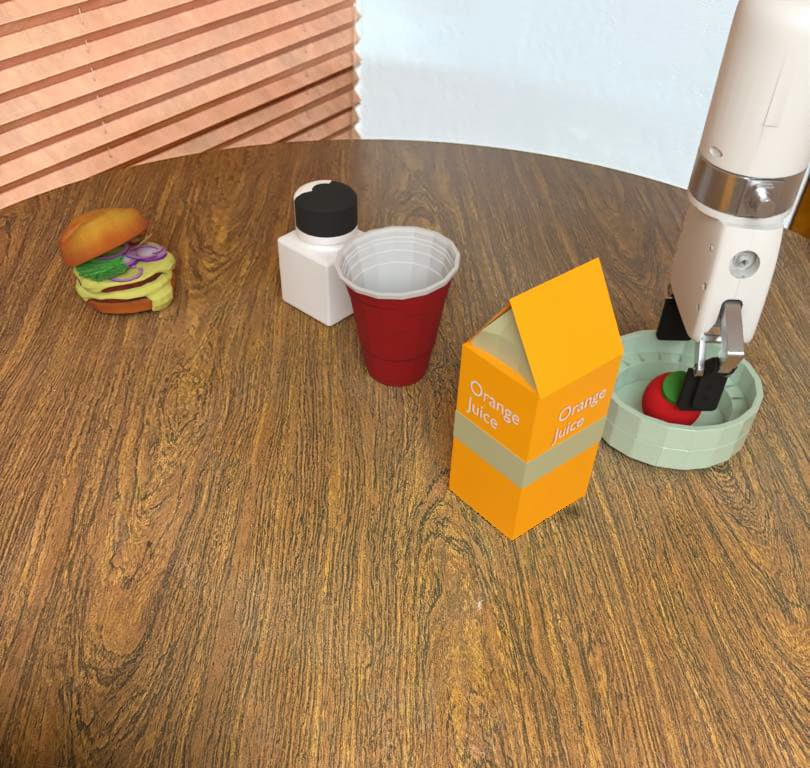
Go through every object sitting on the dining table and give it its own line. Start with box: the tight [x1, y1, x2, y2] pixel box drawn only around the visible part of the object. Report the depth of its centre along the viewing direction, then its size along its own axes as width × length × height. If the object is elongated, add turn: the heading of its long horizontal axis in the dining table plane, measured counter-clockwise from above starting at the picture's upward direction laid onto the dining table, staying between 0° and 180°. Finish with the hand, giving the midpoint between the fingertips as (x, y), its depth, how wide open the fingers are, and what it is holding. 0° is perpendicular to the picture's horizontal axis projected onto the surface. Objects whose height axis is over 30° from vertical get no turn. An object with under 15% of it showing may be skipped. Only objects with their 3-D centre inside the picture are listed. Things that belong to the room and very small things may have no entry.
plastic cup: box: [334, 225, 461, 388], centre depth 78 cm, size 11×11×12 cm
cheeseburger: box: [58, 207, 177, 315], centre depth 87 cm, size 10×11×10 cm
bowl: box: [601, 328, 765, 471], centre depth 76 cm, size 14×14×5 cm
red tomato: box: [642, 371, 702, 426], centre depth 75 cm, size 5×5×6 cm
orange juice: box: [448, 256, 624, 544], centre depth 64 cm, size 8×9×20 cm
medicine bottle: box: [277, 179, 366, 327], centre depth 85 cm, size 7×7×12 cm
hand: (683, 372), depth 75 cm, fingers open, 9 cm apart
